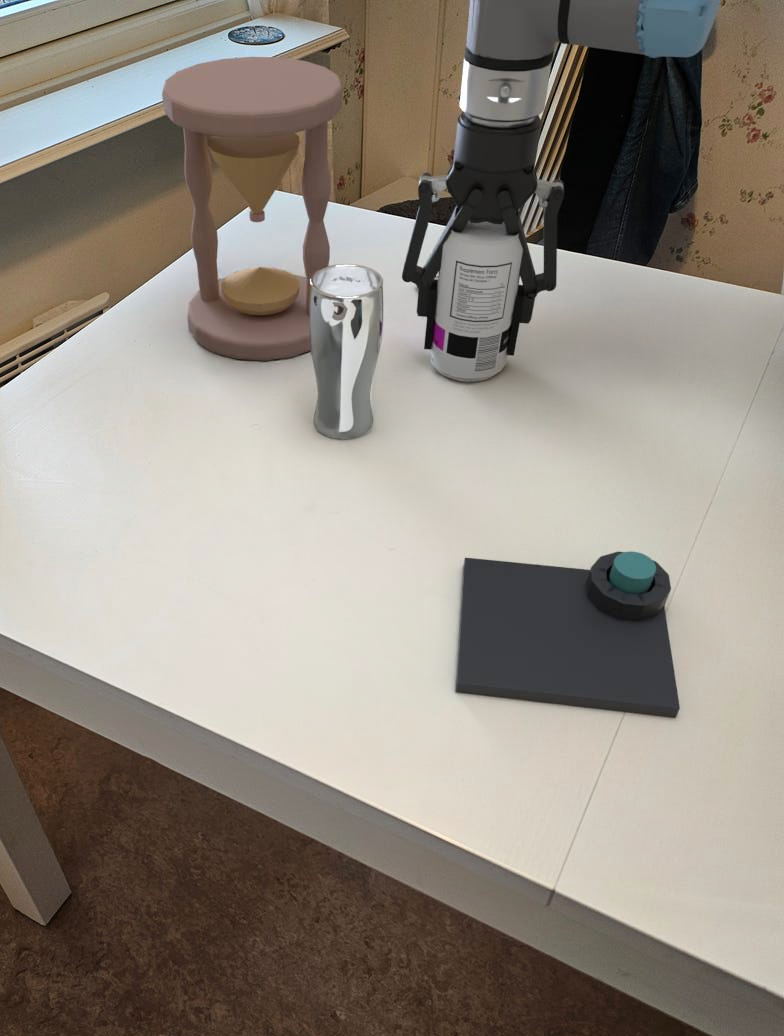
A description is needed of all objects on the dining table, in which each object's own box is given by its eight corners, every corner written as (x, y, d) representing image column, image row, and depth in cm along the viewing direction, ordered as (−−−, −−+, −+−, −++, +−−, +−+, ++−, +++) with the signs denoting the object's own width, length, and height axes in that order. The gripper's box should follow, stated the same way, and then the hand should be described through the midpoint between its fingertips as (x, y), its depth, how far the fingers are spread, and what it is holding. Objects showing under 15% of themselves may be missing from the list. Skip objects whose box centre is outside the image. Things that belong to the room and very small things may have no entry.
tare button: (648, 569, 73) (654, 553, 71) (652, 596, 71) (658, 580, 69) (607, 565, 73) (612, 549, 72) (610, 592, 71) (615, 576, 70)
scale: (656, 582, 75) (666, 555, 73) (676, 718, 66) (688, 692, 63) (463, 563, 77) (467, 536, 75) (455, 693, 68) (459, 666, 65)
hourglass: (158, 337, 104) (124, 94, 85) (239, 276, 114) (224, 47, 96) (290, 376, 98) (284, 123, 79) (363, 308, 108) (373, 70, 90)
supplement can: (413, 363, 99) (425, 225, 88) (463, 338, 103) (481, 202, 92) (469, 393, 95) (489, 252, 84) (519, 365, 99) (544, 227, 88)
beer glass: (389, 417, 92) (399, 274, 81) (353, 450, 88) (359, 306, 77) (333, 396, 95) (335, 256, 84) (295, 428, 91) (292, 285, 80)
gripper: (379, 123, 79) (369, 356, 96) (623, 133, 77) (569, 371, 94) (388, 95, 84) (376, 322, 101) (617, 104, 82) (566, 335, 99)
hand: (469, 345), depth 97 cm, fingers closed on supplement can, 8 cm apart
